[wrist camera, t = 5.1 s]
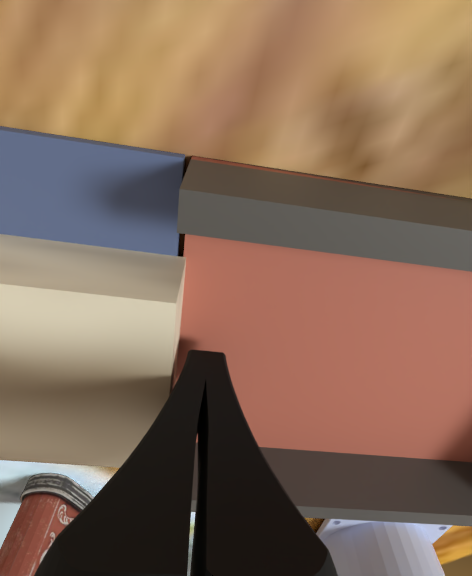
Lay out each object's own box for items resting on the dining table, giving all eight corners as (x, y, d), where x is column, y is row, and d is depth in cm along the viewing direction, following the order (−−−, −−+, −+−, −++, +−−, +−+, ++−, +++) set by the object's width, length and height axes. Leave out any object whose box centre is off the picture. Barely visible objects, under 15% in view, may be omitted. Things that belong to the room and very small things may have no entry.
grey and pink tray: (480, 466, 19) (518, 528, 16) (169, 444, 17) (159, 509, 15) (709, 235, 11) (847, 284, 9) (192, 156, 10) (179, 188, 7)
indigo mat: (165, 444, 17) (164, 452, 17) (18, 434, 16) (14, 441, 16) (185, 154, 10) (183, 158, 9) (-86, 113, 9) (-98, 115, 9)
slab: (173, 414, 15) (164, 470, 13) (7, 401, 15) (-30, 457, 12) (186, 257, 11) (176, 303, 9) (-49, 227, 10) (-120, 270, 8)
